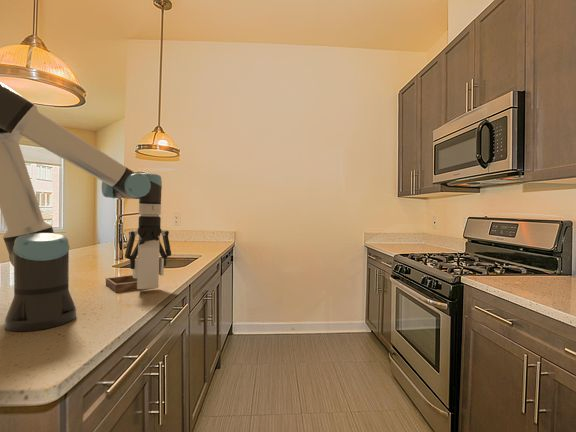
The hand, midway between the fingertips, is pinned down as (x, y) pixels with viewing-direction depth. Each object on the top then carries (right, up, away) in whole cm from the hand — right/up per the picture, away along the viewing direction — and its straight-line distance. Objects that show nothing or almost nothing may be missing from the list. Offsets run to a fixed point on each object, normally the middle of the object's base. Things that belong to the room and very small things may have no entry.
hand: (148, 276), depth 118 cm
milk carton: (0, -4, 0) cm, 4 cm away
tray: (-11, -5, +8) cm, 14 cm away
